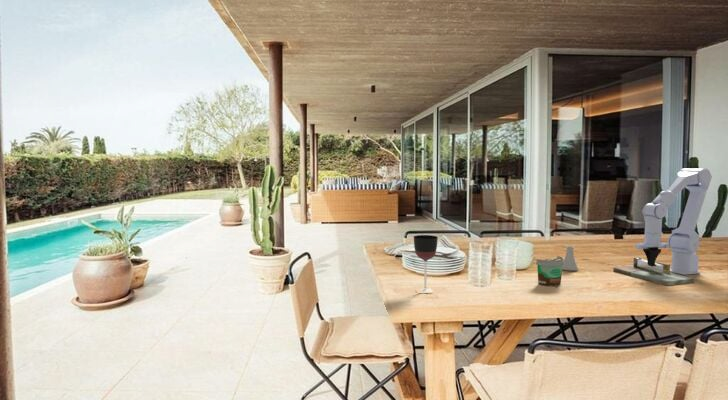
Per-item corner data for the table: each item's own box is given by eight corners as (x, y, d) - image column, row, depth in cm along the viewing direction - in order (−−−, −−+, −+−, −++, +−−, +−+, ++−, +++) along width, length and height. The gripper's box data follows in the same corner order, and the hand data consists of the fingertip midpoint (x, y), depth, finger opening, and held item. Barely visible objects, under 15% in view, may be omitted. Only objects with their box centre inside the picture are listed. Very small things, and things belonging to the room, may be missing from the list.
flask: (580, 271, 191) (581, 248, 190) (562, 271, 193) (563, 248, 192) (576, 267, 198) (576, 245, 198) (558, 267, 200) (559, 245, 199)
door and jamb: (638, 268, 196) (638, 257, 195) (693, 282, 173) (694, 269, 173) (613, 271, 192) (613, 259, 191) (666, 285, 169) (667, 272, 168)
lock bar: (631, 265, 194) (632, 257, 194) (637, 265, 195) (638, 257, 194) (657, 273, 180) (657, 264, 180) (664, 273, 181) (664, 264, 181)
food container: (548, 288, 166) (549, 262, 165) (535, 284, 171) (536, 259, 170) (571, 284, 171) (572, 258, 170) (557, 280, 177) (558, 255, 176)
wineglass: (432, 295, 158) (432, 239, 156) (409, 292, 162) (409, 237, 161) (440, 290, 164) (441, 236, 163) (419, 286, 169) (419, 234, 167)
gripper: (646, 235, 177) (645, 268, 178) (676, 233, 180) (674, 266, 182) (632, 232, 184) (630, 265, 185) (660, 231, 187) (658, 263, 188)
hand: (651, 265), depth 184 cm, fingers closed, pressing on lock bar
